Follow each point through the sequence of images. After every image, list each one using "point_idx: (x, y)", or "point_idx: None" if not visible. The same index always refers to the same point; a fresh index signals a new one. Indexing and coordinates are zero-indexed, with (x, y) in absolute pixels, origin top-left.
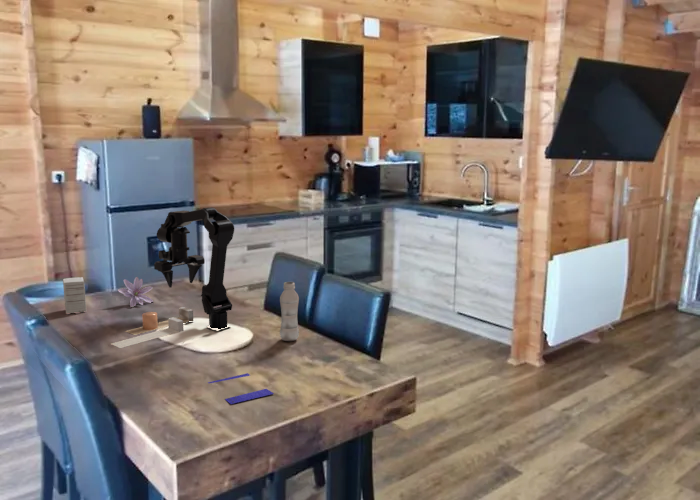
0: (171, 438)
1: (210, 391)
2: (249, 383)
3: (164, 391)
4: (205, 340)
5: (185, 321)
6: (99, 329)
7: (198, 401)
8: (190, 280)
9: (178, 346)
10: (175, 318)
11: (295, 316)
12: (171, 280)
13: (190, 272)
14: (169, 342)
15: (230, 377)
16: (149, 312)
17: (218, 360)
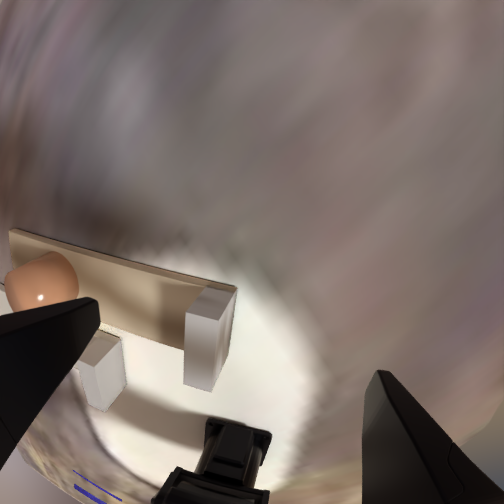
0: (26, 457)
1: (68, 473)
2: (109, 500)
3: (30, 436)
4: (144, 442)
5: (182, 349)
6: (3, 116)
7: (53, 466)
8: (373, 403)
9: (81, 406)
10: (94, 382)
11: None
12: (42, 390)
13: (404, 490)
14: (73, 379)
15: (99, 487)
16: (24, 286)
17: (111, 474)
